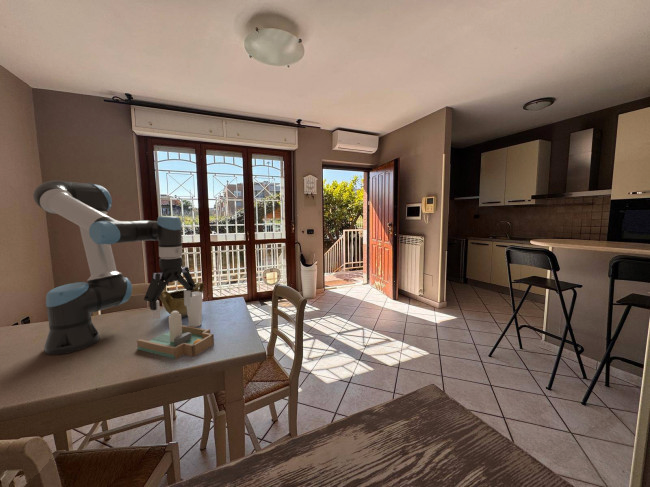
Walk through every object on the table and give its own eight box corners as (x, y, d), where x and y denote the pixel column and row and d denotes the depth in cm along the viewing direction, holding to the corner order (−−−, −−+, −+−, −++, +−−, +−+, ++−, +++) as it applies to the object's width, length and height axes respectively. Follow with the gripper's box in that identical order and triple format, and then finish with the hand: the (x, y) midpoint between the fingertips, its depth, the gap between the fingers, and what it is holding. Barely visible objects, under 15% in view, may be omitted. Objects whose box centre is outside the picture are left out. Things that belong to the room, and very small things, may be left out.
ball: (195, 353, 96) (189, 345, 96) (202, 348, 99) (197, 341, 100) (199, 347, 94) (193, 339, 95) (207, 342, 98) (201, 335, 99)
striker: (166, 342, 98) (164, 313, 97) (179, 336, 104) (178, 307, 103) (178, 345, 96) (176, 315, 95) (191, 338, 102) (189, 309, 101)
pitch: (137, 349, 97) (136, 339, 96) (175, 331, 112) (174, 322, 111) (186, 361, 89) (185, 350, 88) (219, 340, 104) (219, 331, 103)
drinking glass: (196, 329, 114) (195, 296, 113) (183, 327, 116) (181, 295, 114) (206, 322, 121) (205, 291, 119) (194, 321, 122) (192, 290, 121)
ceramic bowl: (170, 326, 117) (168, 294, 116) (151, 318, 126) (149, 288, 124) (213, 310, 136) (212, 283, 135) (194, 305, 145) (192, 279, 143)
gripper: (145, 263, 84) (148, 325, 87) (204, 253, 108) (205, 302, 110) (129, 261, 87) (132, 322, 89) (190, 252, 110) (191, 300, 113)
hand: (172, 311), depth 100 cm, fingers open, 13 cm apart
